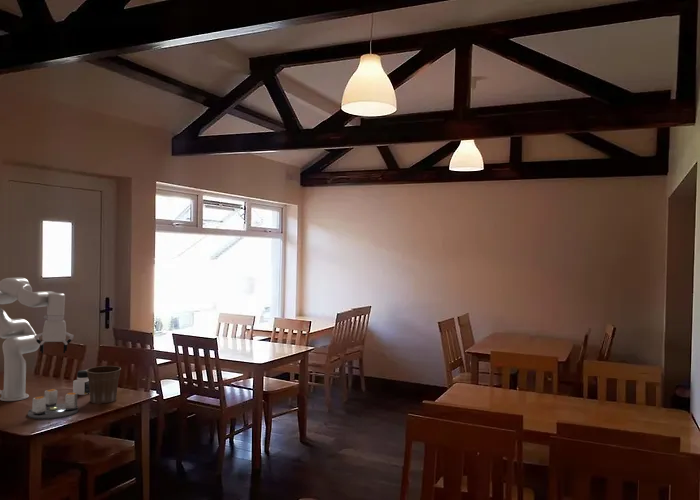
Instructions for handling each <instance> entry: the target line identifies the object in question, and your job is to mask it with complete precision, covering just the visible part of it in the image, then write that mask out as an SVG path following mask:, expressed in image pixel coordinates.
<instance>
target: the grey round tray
mask: <svg viewBox="0 0 700 500" xmlns="http://www.w3.org/2000/svg"><path fill="white" fill-rule="evenodd" d="M79 409H80V408H79V406H78V405H77V409H75V410H66V408H65V403H56V405H55V406H50V407H47V406H46V411H45V413H44V414H40V415H34V414H33V411H32V408H31V409H29V410H28V411H27V417H28V418H29V417H30V419H32V418H33V420H41V421H42V420H57V419H63V418H67V417H70V416H71V417H72V416H74V415H76V414H77V413H78V412H79Z"/></svg>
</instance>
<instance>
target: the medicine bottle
mask: <svg viewBox="0 0 700 500" xmlns="http://www.w3.org/2000/svg"><path fill="white" fill-rule="evenodd" d="M86 370H87V369H81V370H78V371H77V373H76V379H75V380H73V381H72V383H73V384H72V393H78V395H79V396H80V395H81V396H85V395H88V393H89V394H90V389H89V379H88V374H87V372H86Z"/></svg>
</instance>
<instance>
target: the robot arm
mask: <svg viewBox="0 0 700 500" xmlns="http://www.w3.org/2000/svg"><path fill="white" fill-rule="evenodd" d="M16 301H18V302H19V303H20V304H21V305H23V306H26V307H29V308H41V307H45V308H46V307H47V309H46V315H43V319H45V321H44V323H43V324H44V325H43V329H42V332H41V333H38V334H37V333H36V332H35V330H34V328H33V327H32V326H31V324H30V322H29V321H28V320H26V319H25V318H21V317H20V318H11V317H9V315H8V313H7V312H6V311H5V310H4V309H3V308H2V307H0V338H1V339H5V340H4V341H3V343H2V352H3V359H4V361H3V363H4V365H3V366H4V369H3V372H4V373H3V389H2V390H1V389H0V401H2V402H3V401H4V402H17V401H22V400H26V399H28V398H29V397H30V395H29V394H28V393H26V385H27V384H26V382H27V380H26V377H27V361H26V359H25V358H24V356H23V355H24V354H28V353H33V352H36V351H38V350H39V351H40V352H41V354H44V349H45V348H44V347H45V343H48V342H49V343H50V342H51V343H53V342H54V343H55V342H56V343H58V342H60V343H61V342H62V343H63V350H62V351H63V352H62V353H64V354H65V353H66V352H67V351H68V344H70V343H71V342H72V340H73V339H74V334H73V333H72V334H71V333H69V332H67V323H66V320H65V309H66V308H65V306H66V305H65V303H66V294H65V293H62V292H55V291H51V290H45V291H33V288H32V286H31V284H30V282H29V280H28V279H27V278H25V277H22V276H19V277H6V278H3V279H1V280H0V305H7V304H8V305H9V304H12V303H14V302H16ZM40 337H42V341H41V340H40V339H39V338H40ZM66 337H69V338H68V339H67V338H66Z"/></svg>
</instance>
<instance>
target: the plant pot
mask: <svg viewBox="0 0 700 500" xmlns="http://www.w3.org/2000/svg"><path fill="white" fill-rule="evenodd" d="M85 370H86V372H87V374H88V379H89V389H90V393H89V401H90V403H92V404H95V405H96V404H99V405H101V404H104V403H105V404H107V403H113V402H116V401H117V393H118V385H119V378H120V374H121V370H122V368H121V366H116V365H115V366H114V365H102V366H101V365H100V366H99V365H98V366H95V367H90V368H87V369H85Z"/></svg>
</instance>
